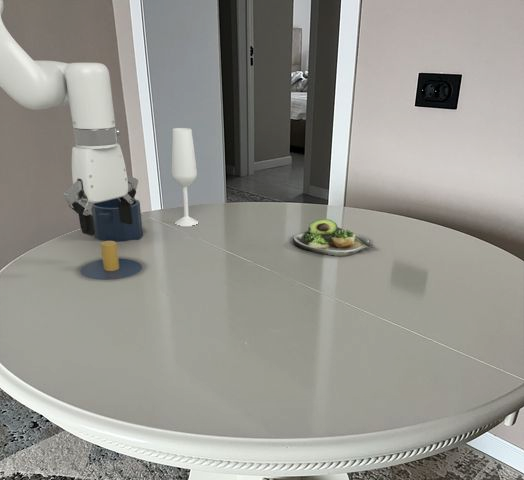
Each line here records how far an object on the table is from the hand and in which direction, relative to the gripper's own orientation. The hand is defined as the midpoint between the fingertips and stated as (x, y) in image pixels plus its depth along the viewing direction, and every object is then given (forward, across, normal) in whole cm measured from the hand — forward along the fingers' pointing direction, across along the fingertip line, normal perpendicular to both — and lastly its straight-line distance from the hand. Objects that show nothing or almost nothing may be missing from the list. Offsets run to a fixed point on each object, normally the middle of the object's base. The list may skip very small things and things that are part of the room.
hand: (108, 228), depth 107 cm
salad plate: (+10, -46, +26) cm, 54 cm away
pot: (+10, -18, -19) cm, 28 cm away
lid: (+9, 0, 0) cm, 9 cm away
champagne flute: (+10, -38, -14) cm, 42 cm away
